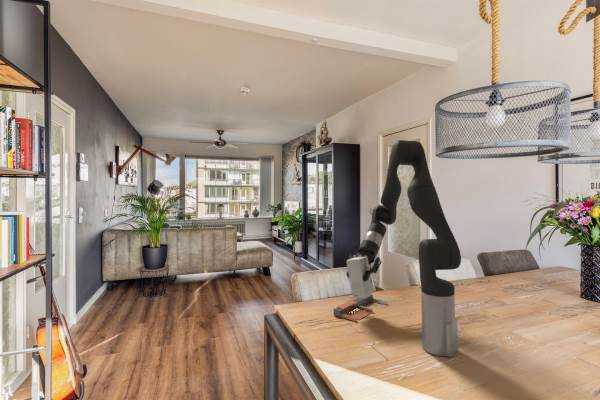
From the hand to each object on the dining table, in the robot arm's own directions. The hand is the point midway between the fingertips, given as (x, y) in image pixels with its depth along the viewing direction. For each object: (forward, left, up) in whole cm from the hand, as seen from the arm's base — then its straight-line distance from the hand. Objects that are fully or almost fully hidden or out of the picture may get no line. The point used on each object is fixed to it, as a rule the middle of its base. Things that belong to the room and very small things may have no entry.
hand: (356, 278), depth 121 cm
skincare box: (-1, -3, -7) cm, 8 cm away
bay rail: (+2, -7, -14) cm, 16 cm away
